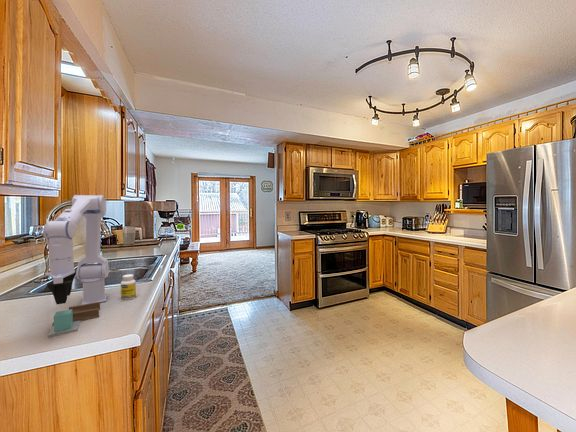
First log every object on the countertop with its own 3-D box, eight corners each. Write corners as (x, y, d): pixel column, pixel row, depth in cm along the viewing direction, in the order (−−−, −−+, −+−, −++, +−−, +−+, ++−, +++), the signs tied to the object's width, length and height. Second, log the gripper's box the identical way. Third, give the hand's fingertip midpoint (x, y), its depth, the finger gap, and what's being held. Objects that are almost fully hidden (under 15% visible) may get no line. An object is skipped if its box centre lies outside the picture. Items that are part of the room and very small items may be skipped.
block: (57, 326, 82) (56, 311, 82) (73, 323, 84) (72, 308, 84) (54, 332, 78) (53, 316, 78) (71, 328, 81) (70, 313, 80)
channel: (69, 314, 92) (69, 306, 91) (100, 309, 97) (99, 301, 96) (65, 323, 85) (65, 315, 85) (98, 317, 90) (98, 309, 90)
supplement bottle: (119, 301, 105) (119, 278, 104) (122, 296, 109) (121, 274, 109) (134, 299, 107) (134, 276, 106) (136, 294, 112) (136, 273, 111)
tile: (53, 327, 82) (52, 325, 82) (80, 322, 86) (80, 320, 86) (47, 337, 77) (47, 335, 77) (77, 330, 81) (77, 328, 80)
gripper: (49, 255, 84) (51, 294, 85) (38, 264, 72) (40, 310, 73) (77, 252, 88) (78, 290, 89) (70, 261, 76) (72, 305, 77)
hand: (63, 299), depth 81 cm, fingers open, 7 cm apart
